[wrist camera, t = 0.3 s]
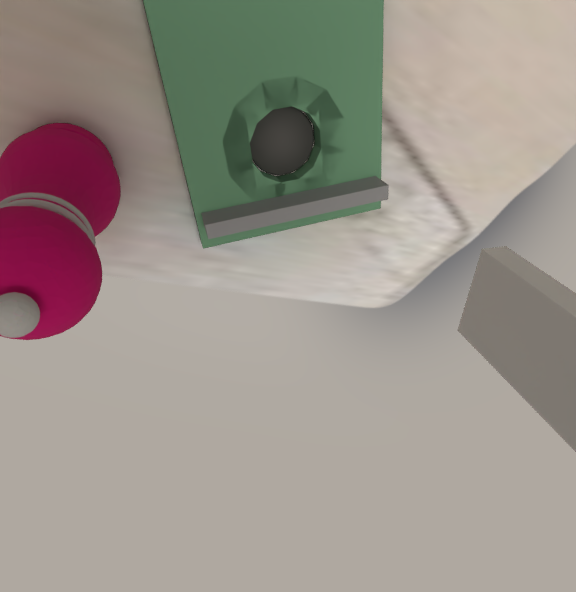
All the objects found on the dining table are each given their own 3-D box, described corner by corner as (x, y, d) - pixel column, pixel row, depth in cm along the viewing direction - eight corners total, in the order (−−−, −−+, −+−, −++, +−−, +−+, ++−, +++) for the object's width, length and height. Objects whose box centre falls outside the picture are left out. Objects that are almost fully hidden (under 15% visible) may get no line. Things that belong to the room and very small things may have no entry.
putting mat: (82, -251, 23) (74, -291, 20) (374, -261, 26) (409, -298, 22) (200, 240, 39) (207, 261, 36) (372, 201, 42) (393, 218, 38)
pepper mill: (30, 219, 34) (-59, 416, 18) (-5, 118, 30) (-160, 256, 14) (130, 208, 36) (129, 379, 20) (109, 111, 32) (87, 227, 16)
